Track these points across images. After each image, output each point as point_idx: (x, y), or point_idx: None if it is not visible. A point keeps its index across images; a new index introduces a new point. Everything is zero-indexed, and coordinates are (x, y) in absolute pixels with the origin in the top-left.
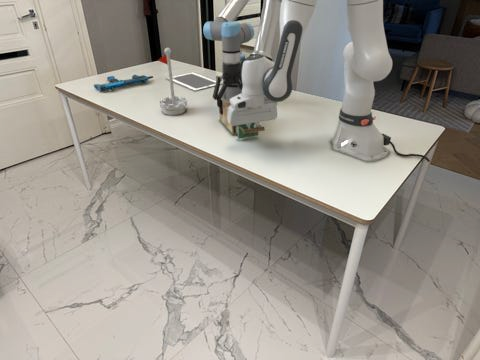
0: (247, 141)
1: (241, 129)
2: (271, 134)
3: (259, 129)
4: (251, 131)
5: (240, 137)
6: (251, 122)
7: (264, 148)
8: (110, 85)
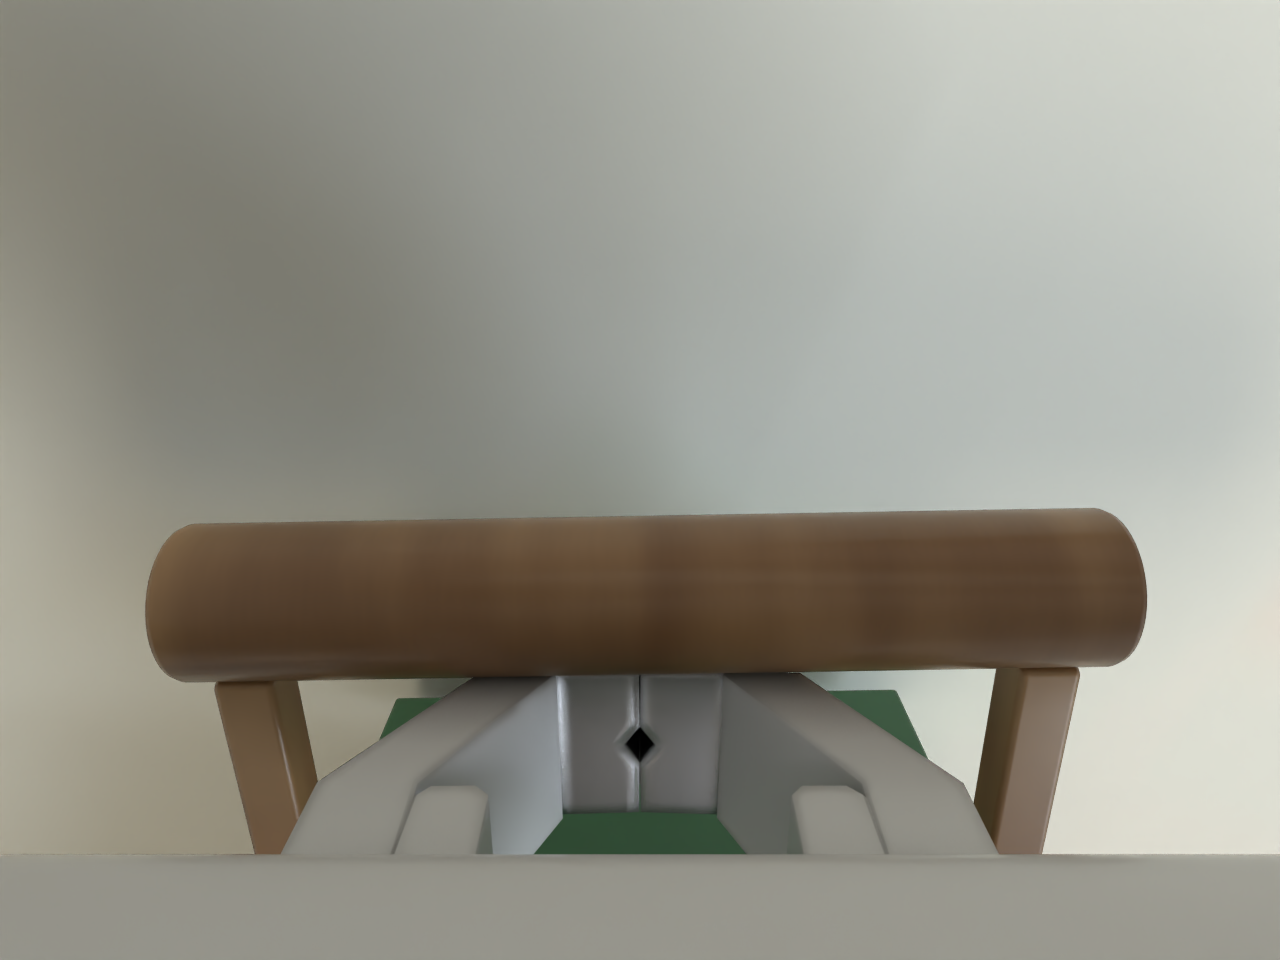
0: None
1: (1034, 794)
2: (77, 701)
3: (408, 542)
4: (788, 517)
5: (864, 706)
6: (843, 880)
7: (449, 84)
8: None
